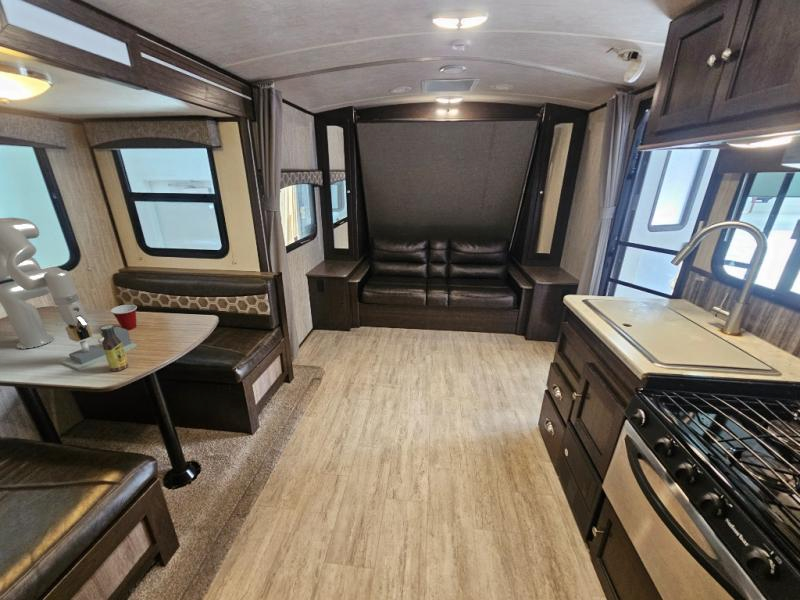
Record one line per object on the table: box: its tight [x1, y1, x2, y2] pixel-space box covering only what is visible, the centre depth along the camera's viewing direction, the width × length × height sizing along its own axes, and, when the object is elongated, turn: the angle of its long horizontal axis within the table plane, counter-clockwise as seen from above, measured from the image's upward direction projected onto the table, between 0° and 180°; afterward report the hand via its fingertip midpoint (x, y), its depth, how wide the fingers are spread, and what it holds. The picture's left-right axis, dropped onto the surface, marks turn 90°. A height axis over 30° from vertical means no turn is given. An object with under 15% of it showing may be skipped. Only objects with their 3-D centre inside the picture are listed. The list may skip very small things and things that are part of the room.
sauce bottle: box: [100, 325, 129, 372], centre depth 139 cm, size 7×6×20 cm
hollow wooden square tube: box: [64, 323, 93, 343], centre depth 143 cm, size 6×6×6 cm
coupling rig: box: [60, 326, 138, 372], centre depth 151 cm, size 14×23×9 cm, turn 157°
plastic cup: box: [110, 304, 138, 331], centre depth 175 cm, size 11×11×12 cm
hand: (81, 336), depth 144 cm, fingers closed on hollow wooden square tube, 5 cm apart
